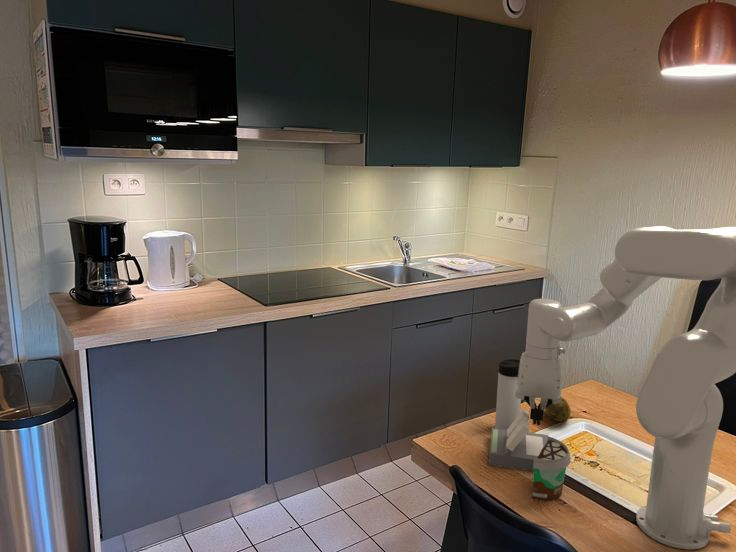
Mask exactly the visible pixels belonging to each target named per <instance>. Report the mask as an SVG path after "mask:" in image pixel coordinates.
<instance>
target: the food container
mask: <svg viewBox="0 0 736 552" xmlns="http://www.w3.org/2000/svg"><path fill="white" fill-rule="evenodd" d="M570 453H571V452H570V450H569V448H568V446H567V445H566V444H565V443H564V442H563V441H561V440H559V439H556V438H554V437H551V436H549V435H548V441H547V443H546V445H545V446H544V447H543V448H542V450H541V452H540V454H539V456H538V458H534V464H533V468H534V471H533V473H532V475H533V477H532V496H531V499H533V500H535V501H542V502H551V501H556V500H558V499H559V498H561V496H562V494H563V488H564V483H565V477H566V472H567V467H568V466H569V465H570V464H571V454H570Z"/></svg>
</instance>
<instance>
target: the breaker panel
mask: <svg viewBox="0 0 736 552" xmlns="http://www.w3.org/2000/svg"><path fill="white" fill-rule="evenodd" d="M506 433H507V430H505V429H497V428H495V427H491V433H490V435H491V436H490V444H489V457H488V466H494V467H500V468H507V469H514V470H521V471H528V472H534V468H533V464H534V458H538V456H539V454H540V452H541V450H542V448H543V447H544V446H545V445H546V443H547V441H548V436H549V434H543V433H535V432H529V431H528V432H527V434H526V435H525V436H524V437H523V439H522V440H521V441H520V442H519V444H518V445H517V446H516V447H515V449H514V450H513V451H511V450H509V454H508V455H506V454H505V444H506V442H505V441H506Z"/></svg>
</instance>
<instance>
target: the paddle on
mask: <svg viewBox="0 0 736 552" xmlns="http://www.w3.org/2000/svg"><path fill="white" fill-rule="evenodd" d="M523 419H525V420H526V421H528V422H529V420H530V412H528V411H527V410H525V408H524V409H521V410H520V414H519V415H518V416H517V418H516V419H515V420H514V422H513V423H512V424H511V426H510V427H509V428H508V429H507V433H506V441H505V442H506V443H507V439H508V438H509V437H510V435H511V434H512V433H513V431H514V430H515V429H516V428H517V426H518V425H519V424H520V422H521V421H522V420H523Z"/></svg>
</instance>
